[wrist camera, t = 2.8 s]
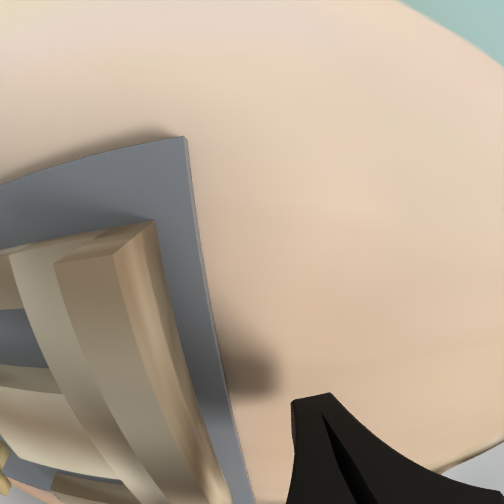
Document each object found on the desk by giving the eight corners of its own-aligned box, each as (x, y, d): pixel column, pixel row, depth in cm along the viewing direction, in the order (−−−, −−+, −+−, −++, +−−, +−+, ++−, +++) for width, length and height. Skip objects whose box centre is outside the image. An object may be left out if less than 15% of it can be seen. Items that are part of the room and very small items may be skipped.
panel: (232, 498, 11) (237, 547, 8) (68, 485, 11) (56, 524, 7) (154, 220, 7) (112, 255, 4) (-57, 263, 7) (-107, 291, 4)
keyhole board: (254, 498, 13) (262, 551, 9) (8, 469, 11) (-7, 501, 8) (186, 139, 8) (158, 115, 4) (-106, 241, 6) (-145, 260, 3)
